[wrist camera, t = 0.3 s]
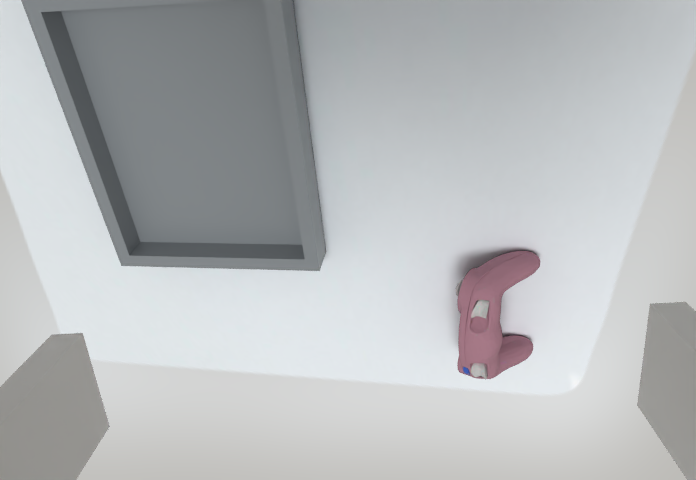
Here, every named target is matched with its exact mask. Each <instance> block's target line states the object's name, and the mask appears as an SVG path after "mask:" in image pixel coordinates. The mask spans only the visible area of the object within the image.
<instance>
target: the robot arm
mask: <svg viewBox="0 0 696 480" xmlns="http://www.w3.org/2000/svg"><path fill="white" fill-rule="evenodd" d="M637 405H638V407H639V408H640V410H641V411H642V413H643V414H644V416H645V417H646V419H647V420H648V422H649V423H650V425H651V426H652V428H653V429H654V431H655V432H656V434H657V435H658V437H659V438H660V440H661V441H662V443H663V444H664V446H665V447H666V449H667V450H668V452H669V453H670V455H671V456H672V458H673V459H674V461H675V462H676V464H677V465H678V467H679V468H680V470H681V471H682V473H683V474H684V476H685V477H686V479H687V480H696V311H695V310H694V309H693V308H691V307H690V306H689V305H688V304H687V303H686V302H677V303H676V302H675V303H655V304H650V309H649V317H648V324H647V332H646V341H645V348H644V356H643V364H642V372H641V380H640V388H639V396H638V404H637ZM108 428H109V423H108V419H107V416H106V412H105V409H104V406H103V402H102V399H101V395H100V392H99V388H98V385H97V381H96V378H95V374H94V371H93V367H92V364H91V361H90V357H89V354H88V350H87V347H86V343H85V340H84V336H83V333H76V334H57V335H51V336H50V337H49V338H48V339H47V340H46V341H45V342H44V343H43V344H42V345H41V346H40V347H39V348H38V349H37V350H36V351H35V352H34V353H33V354H32V355H31V356H30V357H29V358H28V359H27V360H26V361H25V362H24V363H23V364H22V365H21V366H20V367H19V368H18V369H17V371H15V373H14V374H13V375H12V376H11V377H10V378H9V379H8V380H7V381H6V382H5V383H4V384H3V385H2V386H1V387H0V480H76V479H77V477H78V476H79V474H80V472H81V471H82V469H83V468H84V466H85V465H86V463H87V462H88V460H89V458H90V457H91V455H92V453H93V452H94V450H95V449H96V447H97V446H98V444H99V442H100V441H101V439H102V438H103V436H104V435H105V433H106V431H107V430H108Z"/></svg>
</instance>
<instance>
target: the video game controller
mask: <svg viewBox="0 0 696 480" xmlns="http://www.w3.org/2000/svg"><path fill="white" fill-rule="evenodd" d="M539 266H540V259H539V257H538V256H537V255H536V254H534V253H532V252H530V251H515V252H509V253H506V254H502V255H500V256H498V257H495V258H493V259H491V260H489V261H488V262H486V263H484V264H483V265H481V266H480V267H478V268H472V269H471V270H470V271H469V272H468V273H467V274H466V276H465V278H464V280H461V281H460V282H459V283H458V285H457V287H456V295H457V296H458V310H459V312H460V313H461V316H460V324H459V358H458V370H459V372H460V373H463V374H466V375H469V376H472V377H474V378H480V379H491V378H494V377H496V376H497V375H499V374H500V373H501V372H503V371H504V370H506V369H508V368H510V367H512V366H514V365H517V364H519V363H521V362H522V361H524V360H526V359H527V358H528V357H529V356H530V355H531V353H532V351H533V344H532V342H531V341H530V340H529V339H528V338H526V337H523V336H517V335H515V336H507V337H503V336H502V330H501V325H500V312H501V298H502V295H503V293H504V292H505V291H506V290H507V289H509V288H510V287H512V286H513V285H515V284H516V283H518V282H520V281H522V280H524V279H525V278H527V277H529V276H530V275H532V274H534V272H535V271H536V270H537V269H538V268H539Z"/></svg>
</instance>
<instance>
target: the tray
mask: <svg viewBox="0 0 696 480" xmlns="http://www.w3.org/2000/svg"><path fill="white" fill-rule="evenodd" d="M21 1H22V3H23V6H24V9H25V11H26V14H27V17H28V19H29V22H30V25H31V27H32V30H33V32H34V35H35V38H36V40H37V43H38V46H39V48H40V51H41V54H42V56H43V59H44V62H45V64H46V67H47V70H48V72H49V75H50V78H51V80H52V83H53V85H54V88H55V91H56V93H57V96H58V99H59V101H60V104H61V107H62V109H63V112H64V115H65V117H66V120H67V123H68V125H69V128H70V131H71V133H72V136H73V139H74V141H75V144H76V146H77V149H78V152H79V154H80V157H81V160H82V162H83V165H84V168H85V170H86V173H87V176H88V178H89V181H90V184H91V186H92V189H93V192H94V194H95V197H96V199H97V202H98V205H99V207H100V210H101V213H102V215H103V218H104V221H105V223H106V226H107V229H108V231H109V234H110V237H111V239H112V242H113V245H114V247H115V250H116V252H117V255H118V258H119V260H120V263H121V266H150V267H189V268H228V269H267V270H306V271H320V268H321V265H322V262H323V259H324V256H325V253H326V248H325V240H324V233H323V225H322V217H321V210H320V202H319V195H318V187H317V180H316V172H315V164H314V157H313V149H312V142H311V134H310V127H309V119H308V111H307V104H306V96H305V89H304V81H303V74H302V66H301V59H300V51H299V43H298V36H297V28H296V21H295V13H294V6H293V0H21Z"/></svg>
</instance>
